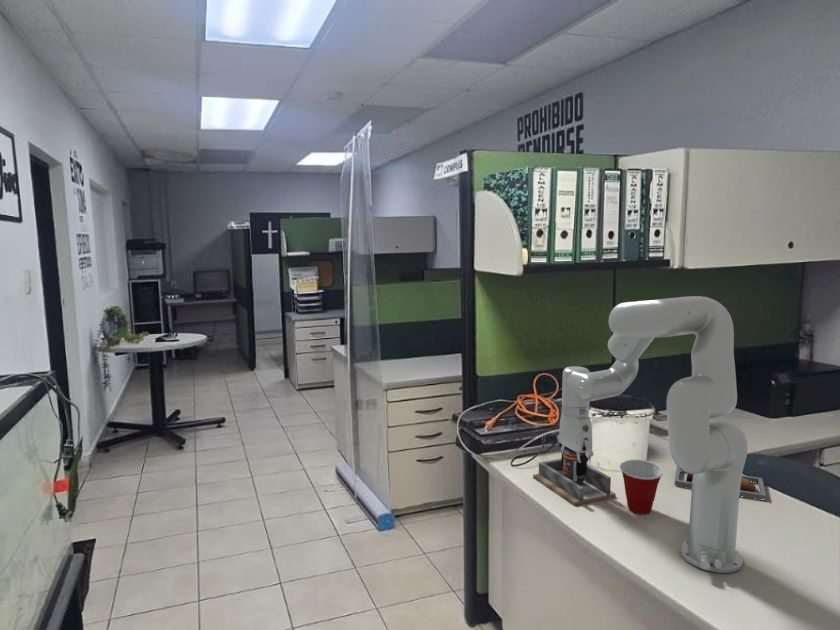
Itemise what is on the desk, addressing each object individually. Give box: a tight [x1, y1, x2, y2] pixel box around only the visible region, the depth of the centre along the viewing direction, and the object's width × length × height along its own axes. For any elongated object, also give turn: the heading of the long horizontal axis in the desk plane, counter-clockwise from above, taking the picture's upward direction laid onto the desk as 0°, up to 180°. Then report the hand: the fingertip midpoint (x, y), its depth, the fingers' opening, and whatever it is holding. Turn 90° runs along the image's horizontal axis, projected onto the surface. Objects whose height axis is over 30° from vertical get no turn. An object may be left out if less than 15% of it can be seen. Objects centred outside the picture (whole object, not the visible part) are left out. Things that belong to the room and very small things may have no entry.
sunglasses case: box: [685, 473, 756, 493], centre depth 172 cm, size 18×7×7 cm
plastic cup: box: [619, 458, 664, 515], centre depth 156 cm, size 11×11×12 cm
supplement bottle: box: [563, 447, 584, 484], centre depth 170 cm, size 6×6×11 cm
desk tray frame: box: [673, 465, 767, 500], centre depth 172 cm, size 13×23×2 cm, turn 64°
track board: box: [532, 458, 617, 507], centre depth 171 cm, size 20×14×6 cm
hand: (573, 469), depth 170 cm, fingers open, 6 cm apart
